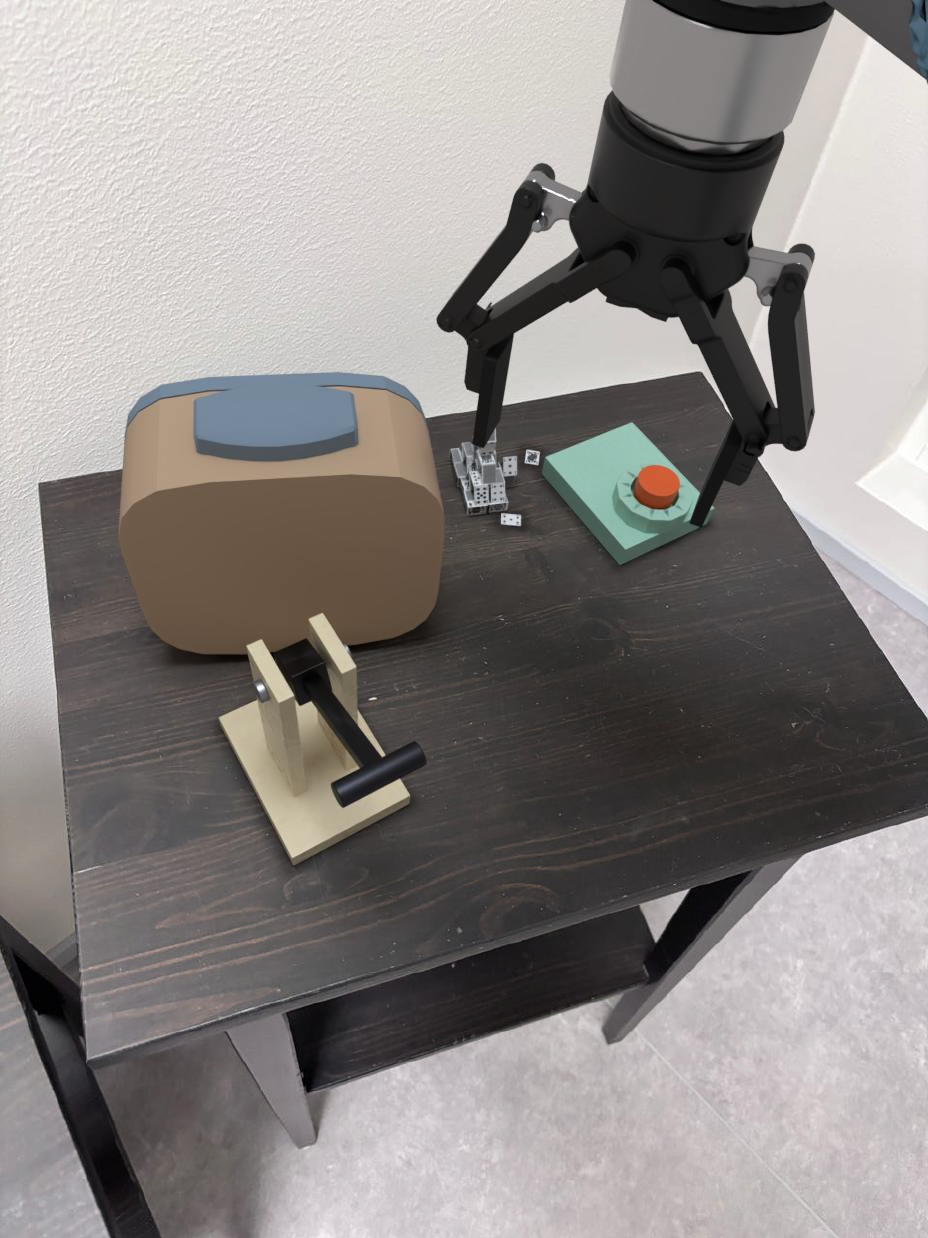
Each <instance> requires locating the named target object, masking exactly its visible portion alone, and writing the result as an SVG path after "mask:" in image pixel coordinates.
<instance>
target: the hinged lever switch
mask: <svg viewBox="0 0 928 1238" xmlns="http://www.w3.org/2000/svg"><path fill="white" fill-rule="evenodd" d="M308 621H309V632H310V642H311V645H312V646H313V647H314V648H315V650H316V651H317V652H318V653H319V655H320V656H321V657H322V658H323V660H324V661H325V663H326V667H327V671H328V674H329V678H330V682H331V686H332V690H333V691H332V692H333V693H334V695H335V696H336V697H337V699H338V700H339V701H340V703H341V704H342V705H343V707H344V708H345V709H346V710H347V712H348V713H349V714H350V716H351V717H352V718H353V720H354V721H355V722H356V724H357V725H358V726H359V727H360V729H361V730H362V731H363V733H364V734H365V735H366V737H367V738H368V739H369V741H370V742H371V743H372V744H373V746H374V747H375V748H376V750H377V751H378V752H379V754H380V755H381V756H382V757H383V756H385V755H386V753H385V751H384V750H383V748H382V747H381V745H380V744H379V742H378V740H377V739H376V737H375V735H374V734H373V732H372V730H371V729H370V727H369V725H368V724H367V722H366V721H365V718H364V717H363V716H362V714H361V712H360V711H359V708H358V669H357V667H358V666H357V665H356V663H355V662H354V660H353V659H354V658H353V655H352V652H351V650H350V648H349V645H346V643H345V642H341V641H340V639H339V638H338V636H337V635H336V633H335V631H334V630H333V628H332V627H331V625H330V623H329V622H328V620H327V619H326V617H325V615H324V614H323V613H321V614H319V615H316V616H314V617H312V618H309V619H308ZM246 647H247V652H248V654H247V658H248V661H249V666H250V671H251V676H252V680H253V681H252V683H251V685H252V688H253V690H254V693H255V695H256V700H254V701H252V702H249V703H247V704H245V705H243V706H240V707H238V708H236V709H234V710H231V711H230V712H228V713H225V714H223V715H221V716H219V717H218V721H219V724H220V727H221V730H222V731H223V733H224V735H225V737H226V739H227V741H228V743H229V745H230V747H231V749H232V750H233V753H234V754H235V756H236V758H237V760H238V762H239V764H240V766H241V768H242V770H243V772H244V774H245V776H246V778H247V780H248V782H249V784H250V785H251V787H252V789H253V791H254V794H255V795H256V798H257V799H258V801H259V802H260V804H261V806H262V808H263V811H264V812H265V814H266V816H267V818H268V820H269V822H270V824H271V826H272V828H273V829H274V831H275V834H276V835H277V837H278V839H279V841H280V843H281V845H282V847H283V849H284V851H285V852H286V854H287V857H288V858H289V860H290V862H291V864H292V866H293V867H294V866H296V865H298V864H300V863H302V862H303V861H305V860H307V859H309V858H312V857H313V856H315V855H316V854H318V853H320V852H322V851H324V850H326V849H328V848H330V847H331V846H334V845H335V844H337V843H339V842H341V841H343V840H344V839H347V838H348V837H350V836H352V835H354V834H356V833H358V832H359V831H361V830H364V829H365V828H367V827H369V826H371V825H373V824H375V823H376V822H378V821H380V820H382V819H384V818H386V817H388V816H389V815H391V814H393V813H395V812H397V811H399V810H401V809H402V808H404V807H406V806H408V805H409V804H410V801H411V794H410V793H409V791H408V789H407V788H406V786H405V784H404V783H403V781H402V778H400V779H398V780H396V781H394V782H392V783H391V784H389V785H387V786H385V787H383V788H381V789H379V790H377V791H375V792H373V793H371V794H369V795H367V796H366V797H364V798H362V799H360V800H358V801H356V802H354V803H352V804H350V805H348V806H346V807H344V808H342V807H341V806H340V805H339V803H338V802H337V800H336V798H335V796H334V794H333V792H332V789H331V783H332V782H334V781H336V780H338V779H340V778H342V777H344V776H346V775H348V774H350V773H352V772H354V771H356V770H358V769H359V767H358V765H357V764H356V762H355V761H354V760H353V758H352V757H351V756H350V754H349V753H348V751H347V750H346V749H345V747H344V746H343V744H342V743H341V742H340V740H339V739H338V738H337V736H336V735H335V733H334V732H333V731H332V729H331V728H330V727H329V725H328V724H327V722H326V721H325V720H324V718H323V717H322V716H321V714H320V713H319V711H318V710H317V709H316V707H315V706H314V705H313V703H312V702H308V703H306V704H304V705H302V706H299V704H298V703H297V702H296V700H295V697H294V694H293V692H292V691H291V689H290V687H289V685H288V684H287V682H286V680H285V678H284V677H283V675H282V673H281V672H280V670H279V668H278V666H277V663H276V660H274V659H275V658H273V656H272V654H271V652H269V651H268V649H267V647H266V646H265V644H264V642H263V640H262V639H261V640H258V641H256V642H254V643H251V644H249V645H247V646H246Z"/></svg>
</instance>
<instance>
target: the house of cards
mask: <svg viewBox="0 0 928 1238" xmlns="http://www.w3.org/2000/svg"><path fill="white" fill-rule="evenodd" d="M472 442H473V436H471V438H470V440H469V441H467V442H461V444H460V445H459V447H457V448H450V450H449V452H448V461H451V462H452V466H453V469H454V473H455V475H456V480H457V482H456V487H457V488H460V491H461V494H462V498H463V502H464V507H465V510H466V512H465V516H466V517H467V516H468V517H469V516H476V515H487V514H488V516H489V514H490V513H497V512H498V513H499V512H503V513H501V514H500V525H506V526H514V527H515V526H516V527H521V526H522V514H515V513H505V512H507V511H508V508H509V503H510V500H508V497H507V495H506V488H513V487H514V485H515V481H516V476H518V455H512V456H503V457H502V458H501V459H500V460H499V461H498V462H497V451H496V445H497V427H496V428H495V430H494V432H493V433H492V435H491V437H490V438H489V440H488V442H487V444H486V445H485V447H484V448H481V447H478V446H476V445H473V444H472ZM540 454H541V452H540V451H537V450H533V449H526V451H525V458H524V464H527V465H528V464H529V465H533V466H539V462H540Z"/></svg>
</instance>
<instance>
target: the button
mask: <svg viewBox="0 0 928 1238" xmlns="http://www.w3.org/2000/svg"><path fill="white" fill-rule="evenodd" d="M679 487H680V481H679V478H678V476H677V475H676V474H675V473H674V472H673V471H672V470H671V469H669V468H667V467H664V466H660V465H650V466H647V467H645V468H643V469H642V470H641V471H640V472H639V474H638V477H637V480H636V483H635V486H634V490H633V491H634V496H635V498H636V499H637V500H638V502H639V503H641V504H642V505H644V506H646V507H648V508H651V509H665V508H667V507H669V506H670V505H671V504H672V503H673V502H674V500H675V497H676V495H677V492H678V490H679Z"/></svg>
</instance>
